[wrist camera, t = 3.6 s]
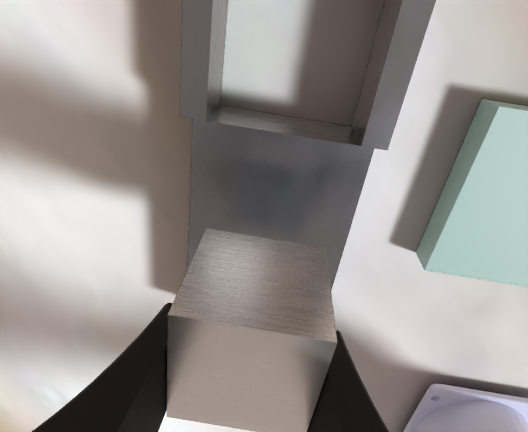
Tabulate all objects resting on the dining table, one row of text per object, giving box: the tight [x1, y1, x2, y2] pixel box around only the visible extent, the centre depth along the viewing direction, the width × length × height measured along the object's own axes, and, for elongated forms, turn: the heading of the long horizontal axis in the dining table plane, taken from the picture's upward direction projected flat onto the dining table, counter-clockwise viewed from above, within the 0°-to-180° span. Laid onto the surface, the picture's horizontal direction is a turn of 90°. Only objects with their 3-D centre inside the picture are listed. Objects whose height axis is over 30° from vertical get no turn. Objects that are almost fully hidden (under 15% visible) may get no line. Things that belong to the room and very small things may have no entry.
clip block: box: [167, 228, 337, 432], centre depth 11 cm, size 4×4×4 cm
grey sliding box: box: [180, 0, 436, 289], centre depth 16 cm, size 20×8×3 cm, turn 172°
